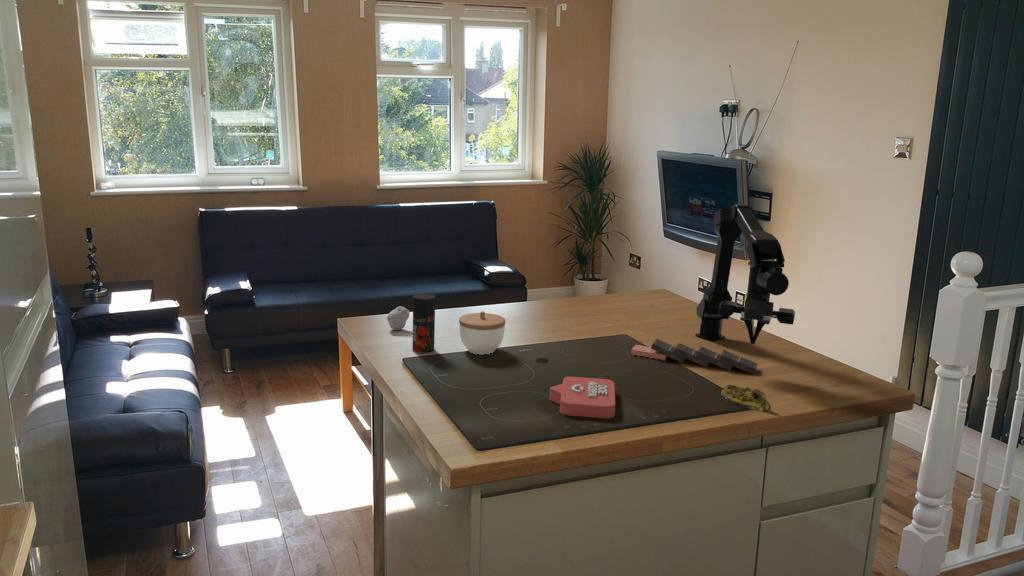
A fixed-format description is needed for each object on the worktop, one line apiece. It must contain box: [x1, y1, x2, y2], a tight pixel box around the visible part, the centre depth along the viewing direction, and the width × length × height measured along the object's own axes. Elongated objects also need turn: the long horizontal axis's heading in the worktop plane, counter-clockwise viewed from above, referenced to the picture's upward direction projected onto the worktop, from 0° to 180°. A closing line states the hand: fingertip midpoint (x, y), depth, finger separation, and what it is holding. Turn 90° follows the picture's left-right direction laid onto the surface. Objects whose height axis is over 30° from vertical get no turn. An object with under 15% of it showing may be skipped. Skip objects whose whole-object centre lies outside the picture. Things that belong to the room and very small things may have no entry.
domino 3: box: [674, 342, 710, 368], centre depth 212 cm, size 2×5×10 cm
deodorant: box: [412, 293, 436, 354], centre depth 211 cm, size 6×6×15 cm
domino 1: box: [630, 344, 668, 361], centre depth 216 cm, size 2×5×10 cm
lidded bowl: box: [458, 311, 506, 356], centre depth 213 cm, size 13×13×11 cm
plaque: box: [548, 375, 616, 419], centre depth 180 cm, size 18×4×15 cm
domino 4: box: [696, 346, 733, 372], centre depth 210 cm, size 2×5×10 cm
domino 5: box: [719, 349, 758, 375], centre depth 208 cm, size 2×5×10 cm
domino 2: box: [650, 338, 687, 364], centre depth 214 cm, size 2×5×10 cm
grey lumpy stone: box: [386, 306, 410, 331], centre depth 230 cm, size 6×7×7 cm
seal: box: [720, 384, 770, 412], centre depth 186 cm, size 9×5×15 cm
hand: (752, 343), depth 205 cm, fingers closed
